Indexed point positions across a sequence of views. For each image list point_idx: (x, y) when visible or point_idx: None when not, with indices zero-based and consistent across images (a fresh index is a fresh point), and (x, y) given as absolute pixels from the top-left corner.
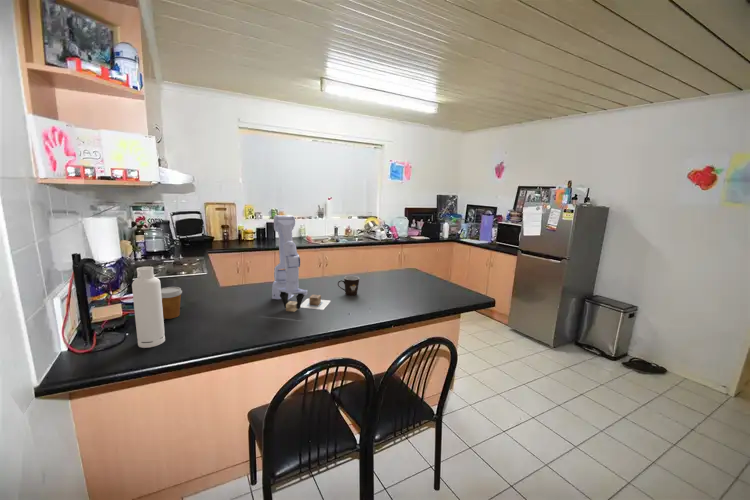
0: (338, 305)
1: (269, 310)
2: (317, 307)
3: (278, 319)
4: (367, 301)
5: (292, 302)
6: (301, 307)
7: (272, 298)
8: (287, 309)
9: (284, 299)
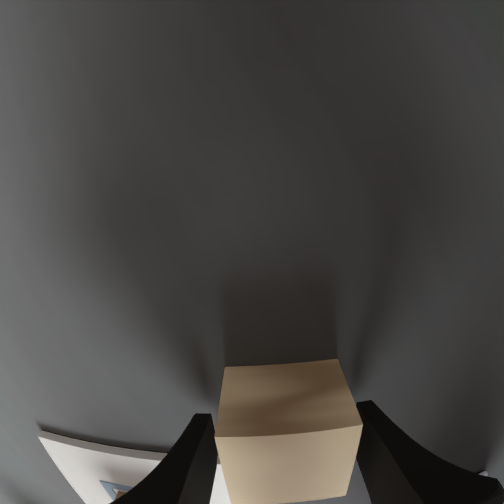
0: (45, 488)
1: (492, 325)
2: (99, 469)
3: (325, 123)
4: (4, 500)
5: (296, 483)
6: (218, 464)
7: (483, 473)
8: (324, 380)
9: (407, 475)
